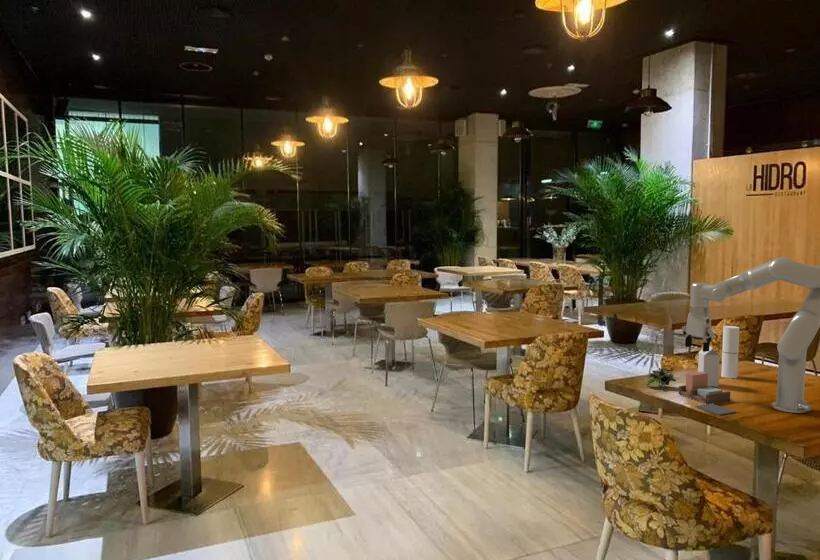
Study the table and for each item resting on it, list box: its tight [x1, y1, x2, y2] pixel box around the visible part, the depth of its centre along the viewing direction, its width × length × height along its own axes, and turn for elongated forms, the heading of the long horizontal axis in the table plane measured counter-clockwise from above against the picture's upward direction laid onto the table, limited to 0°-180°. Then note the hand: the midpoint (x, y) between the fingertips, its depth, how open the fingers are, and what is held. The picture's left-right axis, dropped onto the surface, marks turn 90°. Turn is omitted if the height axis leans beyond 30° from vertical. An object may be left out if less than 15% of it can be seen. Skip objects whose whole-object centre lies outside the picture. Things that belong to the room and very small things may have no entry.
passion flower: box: [645, 367, 677, 389], centre depth 289 cm, size 11×11×12 cm
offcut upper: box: [697, 386, 723, 397], centre depth 269 cm, size 6×8×2 cm
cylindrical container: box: [720, 325, 741, 379], centre depth 307 cm, size 7×7×25 cm
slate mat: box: [694, 403, 737, 416], centre depth 255 cm, size 12×9×1 cm
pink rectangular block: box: [685, 371, 709, 393], centre depth 276 cm, size 4×9×10 cm, turn 112°
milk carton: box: [697, 345, 721, 388], centre depth 292 cm, size 7×7×19 cm
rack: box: [678, 384, 731, 404], centre depth 272 cm, size 16×13×4 cm
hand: (696, 348), depth 274 cm, fingers open, 9 cm apart
